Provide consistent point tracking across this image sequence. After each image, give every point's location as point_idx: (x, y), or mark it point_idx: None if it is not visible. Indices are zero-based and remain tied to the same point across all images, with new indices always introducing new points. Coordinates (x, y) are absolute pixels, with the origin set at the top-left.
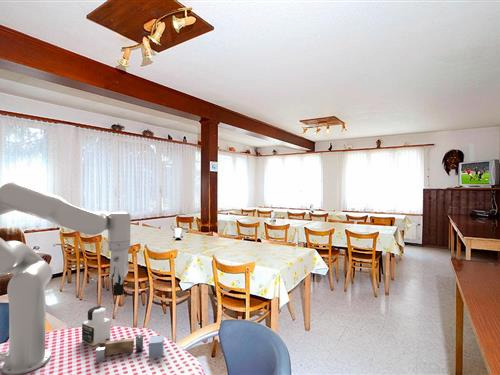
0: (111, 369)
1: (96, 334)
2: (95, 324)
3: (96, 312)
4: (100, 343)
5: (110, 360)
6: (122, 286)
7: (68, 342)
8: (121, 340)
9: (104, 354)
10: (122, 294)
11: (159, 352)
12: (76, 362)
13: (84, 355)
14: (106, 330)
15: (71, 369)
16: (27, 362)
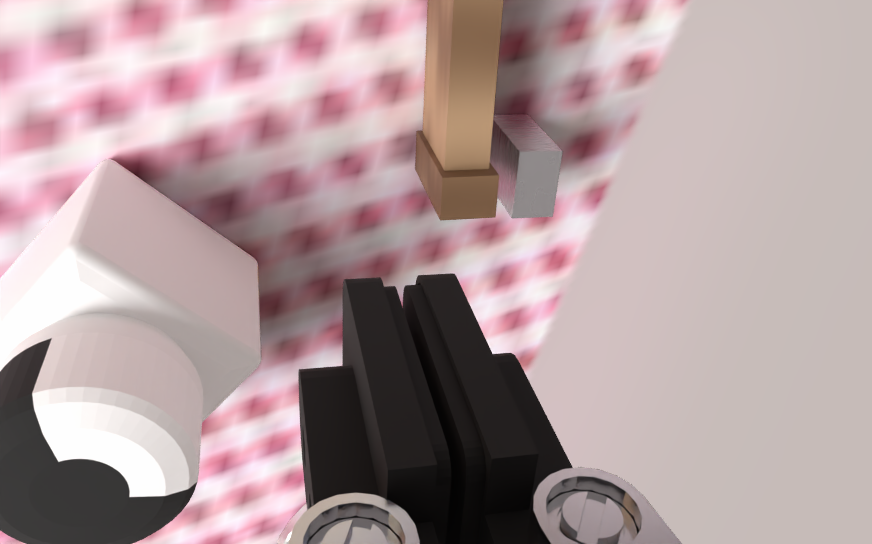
0: (664, 30)
1: (238, 293)
2: (212, 364)
3: (186, 453)
4: (493, 209)
5: (533, 65)
6: (519, 416)
7: None
8: (466, 16)
9: (537, 132)
10: (457, 280)
11: None
12: (473, 301)
13: (392, 280)
14: (141, 224)
15: (549, 302)
16: None
